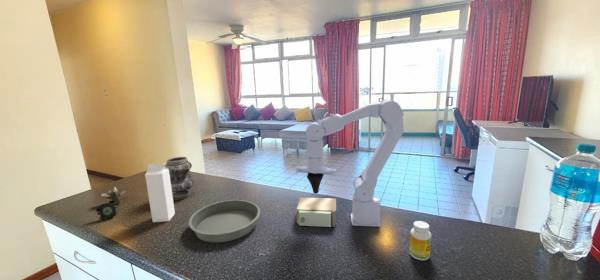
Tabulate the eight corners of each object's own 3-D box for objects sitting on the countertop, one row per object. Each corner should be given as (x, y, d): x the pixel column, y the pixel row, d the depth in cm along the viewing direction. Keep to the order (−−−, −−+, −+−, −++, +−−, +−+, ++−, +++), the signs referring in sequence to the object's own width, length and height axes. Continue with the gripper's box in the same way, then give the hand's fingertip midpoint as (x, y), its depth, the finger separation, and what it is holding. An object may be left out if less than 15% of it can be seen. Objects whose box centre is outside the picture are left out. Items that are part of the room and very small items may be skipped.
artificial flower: (93, 226, 96) (81, 203, 95) (114, 207, 118) (105, 188, 116) (118, 215, 99) (107, 193, 97) (135, 199, 120) (126, 180, 119)
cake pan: (173, 238, 84) (171, 226, 83) (220, 206, 107) (219, 196, 106) (235, 252, 76) (234, 239, 75) (272, 214, 98) (271, 203, 98)
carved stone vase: (186, 188, 127) (182, 154, 124) (200, 193, 120) (196, 157, 117) (162, 197, 118) (157, 160, 114) (176, 203, 111) (170, 164, 107)
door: (334, 225, 88) (334, 210, 87) (334, 229, 86) (334, 214, 85) (299, 223, 90) (299, 209, 89) (298, 227, 88) (298, 212, 86)
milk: (169, 221, 95) (160, 165, 91) (152, 222, 95) (143, 166, 90) (175, 213, 101) (167, 161, 97) (159, 214, 101) (151, 161, 96)
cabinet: (336, 211, 98) (336, 198, 97) (336, 225, 89) (336, 210, 88) (300, 210, 100) (300, 197, 99) (297, 223, 91) (296, 209, 90)
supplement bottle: (410, 246, 76) (412, 217, 74) (430, 252, 73) (433, 222, 71) (407, 257, 71) (409, 226, 69) (428, 263, 68) (431, 231, 66)
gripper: (337, 154, 90) (337, 190, 93) (300, 152, 95) (301, 186, 98) (333, 160, 84) (333, 198, 86) (293, 157, 89) (294, 193, 91)
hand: (316, 192), depth 92 cm, fingers closed
